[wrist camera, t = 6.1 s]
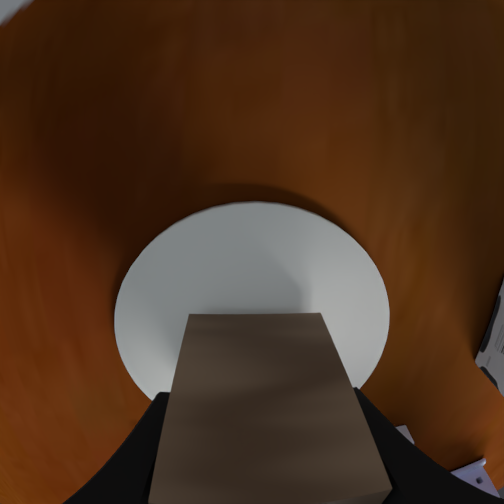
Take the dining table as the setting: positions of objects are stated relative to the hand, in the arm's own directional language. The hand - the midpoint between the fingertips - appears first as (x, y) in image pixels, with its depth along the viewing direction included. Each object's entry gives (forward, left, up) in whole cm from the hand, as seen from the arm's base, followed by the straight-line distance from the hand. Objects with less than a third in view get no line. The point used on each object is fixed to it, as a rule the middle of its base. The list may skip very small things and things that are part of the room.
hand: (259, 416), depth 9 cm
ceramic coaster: (0, 0, -4) cm, 4 cm away
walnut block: (0, 0, -3) cm, 3 cm away
